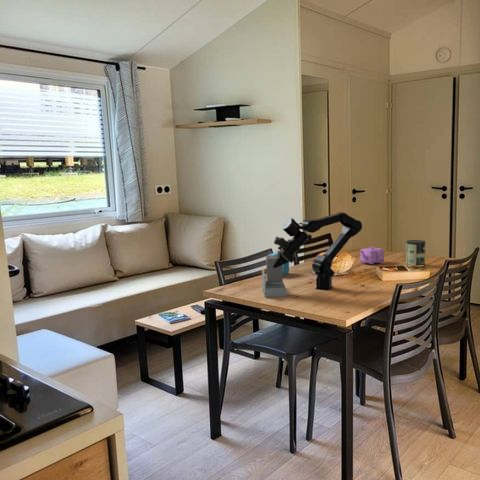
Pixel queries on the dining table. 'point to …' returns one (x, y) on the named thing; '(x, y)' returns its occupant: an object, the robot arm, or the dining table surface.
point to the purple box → (372, 255)
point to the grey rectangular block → (273, 270)
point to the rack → (273, 287)
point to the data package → (284, 267)
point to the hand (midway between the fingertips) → (273, 266)
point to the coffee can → (415, 252)
